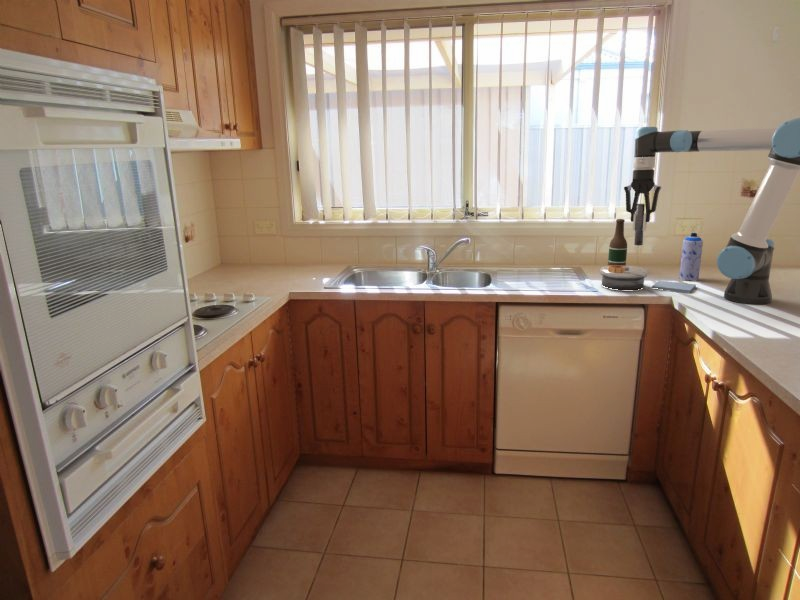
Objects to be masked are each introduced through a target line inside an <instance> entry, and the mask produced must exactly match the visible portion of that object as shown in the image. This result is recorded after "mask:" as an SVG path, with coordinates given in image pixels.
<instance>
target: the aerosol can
mask: <svg viewBox="0 0 800 600" xmlns="http://www.w3.org/2000/svg"><path fill="white" fill-rule="evenodd" d="M703 241H704V240H703V239H702V237H700V236H699V235H698V233H697V232H691V233H690V235H689V236H687V237H685V239H683V241H682V242H683V243H682V251H681V257H680V258H681V261H680V268H679V269H680V270H679V276H678V278H679V277H680V278H681V279H684V280H698V281H700V278H699V277H700V271H701V270H700V268H701V262H702V261H701V260H702V253H703V247H704V246H703V245H704V242H703ZM684 280H683V281H684Z"/></svg>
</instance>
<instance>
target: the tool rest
mask: <svg viewBox="0 0 800 600" xmlns="http://www.w3.org/2000/svg"><path fill="white" fill-rule="evenodd" d="M696 285H697V284H695V283H686V282H685V283H684V282H677V281H676V282H675V281H667V280H657V281H656V282H655V283H654V284H652V285H651V289H652V288H658V289H663V290H662V291H665V290H670V291H669V292H674V291H676V293H684V294H691V293H692V292H693V291H694V288H696Z"/></svg>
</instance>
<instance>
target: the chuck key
mask: <svg viewBox="0 0 800 600" xmlns="http://www.w3.org/2000/svg"><path fill="white" fill-rule="evenodd" d="M645 211H646V207H645V203H637V204H636V212H635V213H636V223H635V231H634V246H643V245H644V244H643V242H644V241H643V240H644V231H643V218H644V214H645Z"/></svg>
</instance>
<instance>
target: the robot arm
mask: <svg viewBox="0 0 800 600" xmlns="http://www.w3.org/2000/svg"><path fill="white" fill-rule="evenodd" d="M747 151H748V152H749V151H750V152H751V151H753V152H754V151H755V152H756V151H759V152H761V151H762V152H763V151H765V152H766V151H769V153H768V155H767V160H768V161H769V166H768V168H767V170H766V172H765V174H764V176H763V178H762V181H761V183H760V184H759V186H758V189H757V191H756V194H755V196H754V197H753V200H752V201H751V204H750V206H749V209H748V211H747V212H746V215H745V216H744V219H743V221H742V224H740V228H739V230H738V231H737V232H735V233H733V234H731V236H730V238H729V240H728V242H727V244H726V246H725V247H724V248H723V249H722V250H720V252H719V253H718V255H717V257H716V265H717V268H718V270H719V272H720V273H721V274H722V275H723V276H725V277H727V278H729V279H730V280H729V282H728V283H727V286H726V287H725V290H724V294H723V298H724V299H726V300H728V301H731V302H735V303H741V304H747V305H749V304H750V305H766V304H771V303H772V300H773V293H772V289H771V285H770V275H771V274H770V273H771V269H772V263H773V254H774V250H775V241H774V240H773V239H771V238H770V239H769V238H768V237H769V235H770V232H771V230H772V228H773V226H774V224H775V222H776V220H777V219H778V216H779V214H780V212H781V211H782V208H783V206H784V204H785V201H786V200H787V198H788V196H789V194H790V192H791V190H792V187H794V184H795V181H796V179H797V178H798V176H799V174H800V117H798V118H792V119H790V120H787V121H785V122H783V123H782V124H781V125H779V126H778V127H761V128H757V127H756V128H739V129H738V128H736V129H714V130H713V129H711V130H688V129H687V130H684V129H677V130H667V131H659V130H658V127H657V126H641V127H638V128H637V129H636V131H635V137H634V152H633V153H634V155H633V169H634V170H633V171H632V181H631V183H630V184H629V185H626V186H624V187H623V190H624V192H625V212H627V213H630V222H632V231H633V232H635V223H636V204H639V199H640V198H639V197H640V195H641V194H643V196H644V204H645V212H644V218H643V232H646V231H647V226H648V225H647V223H650V220H651V219H650V218H651V214H652V213H655V212H656V211H657V205H658V199H659V195H660V194H659V193H660V191H661V190H662V186H660V185H658V184H655V179H654V178H655V170H654V169H655V168H656V155H657V154H656V153H682V152H683V153H692V152H693V153H695V152H697V153H698V152H747ZM632 190H633V191H634V197H633V201H632V202H631V198H632V197H631V196H632V195H631V191H632ZM652 190H653V191H654V192H653V197H652V203H650V202H651V201H650V199H651V198H650V191H652Z"/></svg>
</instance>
